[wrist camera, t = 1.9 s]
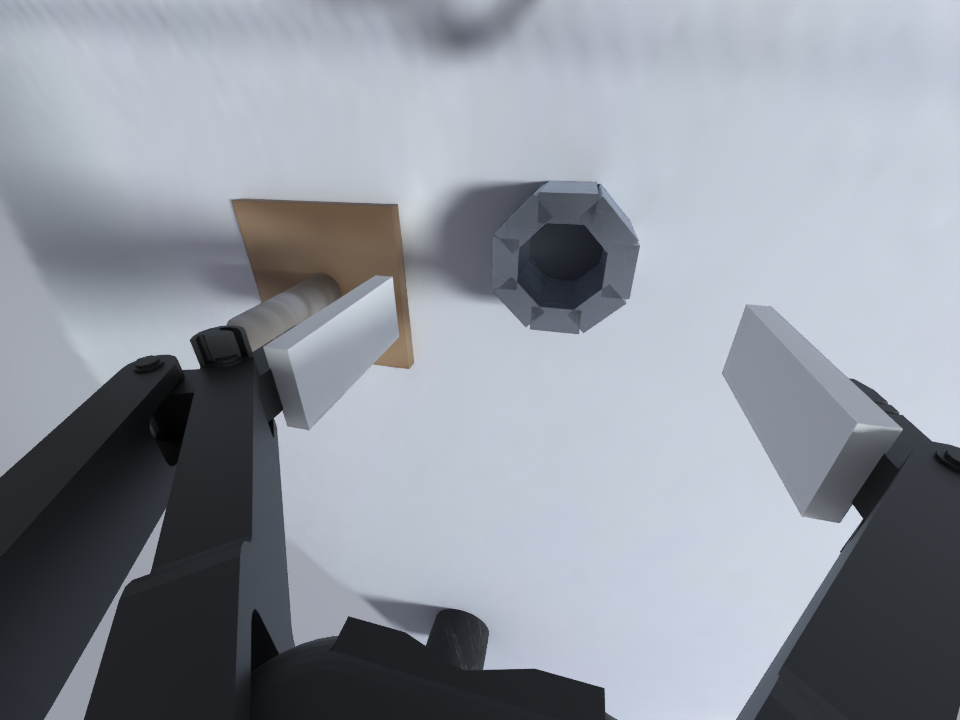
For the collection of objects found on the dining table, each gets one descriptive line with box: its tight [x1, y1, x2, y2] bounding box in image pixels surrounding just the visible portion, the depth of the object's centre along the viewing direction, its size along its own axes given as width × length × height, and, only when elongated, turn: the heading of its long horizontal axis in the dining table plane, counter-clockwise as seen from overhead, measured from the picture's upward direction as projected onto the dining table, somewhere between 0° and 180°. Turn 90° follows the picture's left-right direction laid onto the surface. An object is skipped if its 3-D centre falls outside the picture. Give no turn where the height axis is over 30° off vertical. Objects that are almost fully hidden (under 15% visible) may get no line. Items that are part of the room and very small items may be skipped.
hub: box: [492, 181, 640, 334], centre depth 22 cm, size 7×7×5 cm
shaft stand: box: [227, 199, 414, 369], centre depth 26 cm, size 12×12×9 cm
